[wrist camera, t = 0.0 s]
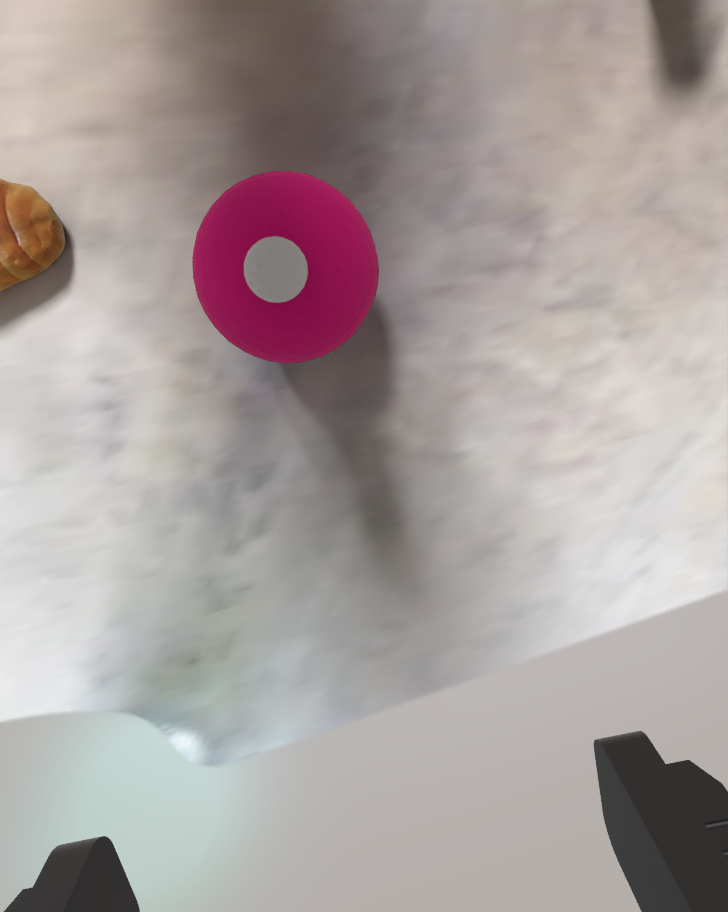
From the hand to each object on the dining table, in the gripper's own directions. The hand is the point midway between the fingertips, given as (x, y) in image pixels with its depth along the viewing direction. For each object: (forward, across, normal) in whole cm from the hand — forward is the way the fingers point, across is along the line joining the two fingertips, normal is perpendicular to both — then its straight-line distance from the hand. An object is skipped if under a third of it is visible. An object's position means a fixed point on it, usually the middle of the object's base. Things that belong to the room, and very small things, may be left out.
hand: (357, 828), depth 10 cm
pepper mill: (+30, 0, -9) cm, 31 cm away
